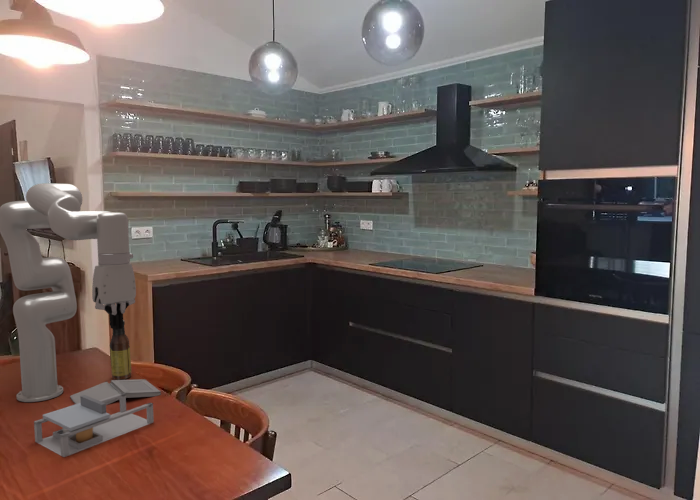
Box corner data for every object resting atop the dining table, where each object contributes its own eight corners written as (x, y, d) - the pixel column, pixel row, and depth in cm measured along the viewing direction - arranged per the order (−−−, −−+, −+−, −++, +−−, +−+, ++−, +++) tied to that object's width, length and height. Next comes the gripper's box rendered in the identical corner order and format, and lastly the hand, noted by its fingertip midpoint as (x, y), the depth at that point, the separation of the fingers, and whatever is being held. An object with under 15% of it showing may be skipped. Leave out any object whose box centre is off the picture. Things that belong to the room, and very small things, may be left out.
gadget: (81, 415, 154) (81, 403, 153) (69, 400, 165) (68, 388, 165) (161, 396, 168) (161, 385, 168) (145, 383, 180) (144, 373, 179)
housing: (35, 444, 134) (33, 421, 134) (124, 413, 154) (123, 392, 153) (64, 460, 126) (62, 435, 126) (153, 425, 146) (152, 403, 145)
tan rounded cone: (74, 439, 135) (74, 420, 134) (91, 436, 137) (91, 417, 137) (77, 445, 132) (77, 425, 131) (94, 442, 134) (94, 422, 133)
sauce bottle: (121, 373, 188) (118, 317, 186) (135, 375, 186) (133, 319, 184) (106, 379, 182) (104, 321, 180) (121, 382, 180) (119, 323, 178)
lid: (42, 417, 135) (42, 405, 135) (82, 405, 143) (81, 393, 143) (70, 431, 127) (69, 418, 127) (110, 417, 136) (109, 404, 135)
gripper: (131, 256, 149) (133, 321, 151) (78, 261, 137) (81, 332, 139) (147, 258, 145) (150, 325, 147) (94, 263, 133) (97, 336, 135)
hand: (116, 328), depth 143 cm, fingers closed
